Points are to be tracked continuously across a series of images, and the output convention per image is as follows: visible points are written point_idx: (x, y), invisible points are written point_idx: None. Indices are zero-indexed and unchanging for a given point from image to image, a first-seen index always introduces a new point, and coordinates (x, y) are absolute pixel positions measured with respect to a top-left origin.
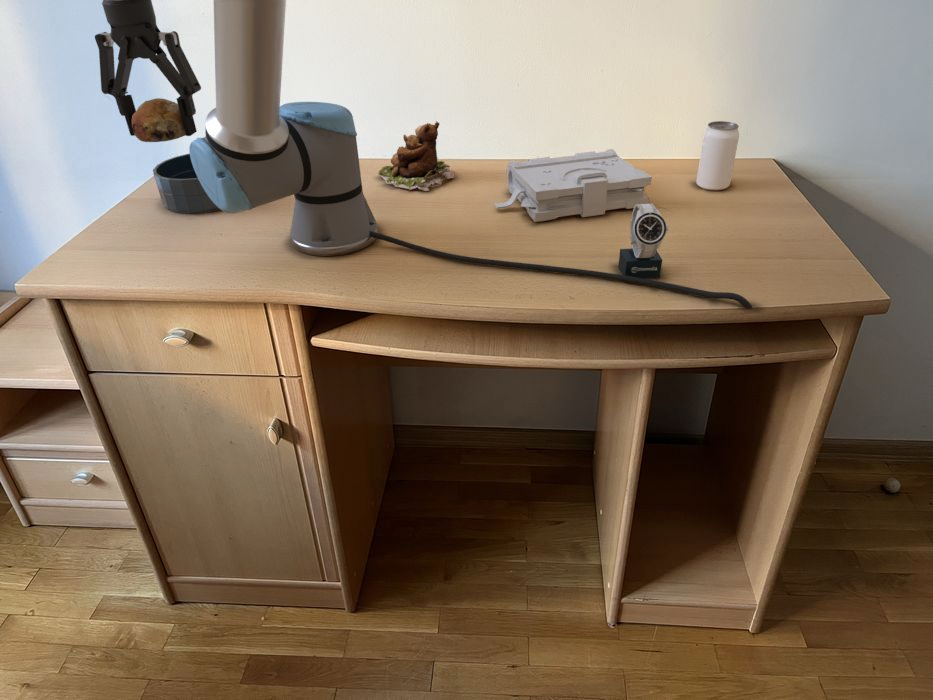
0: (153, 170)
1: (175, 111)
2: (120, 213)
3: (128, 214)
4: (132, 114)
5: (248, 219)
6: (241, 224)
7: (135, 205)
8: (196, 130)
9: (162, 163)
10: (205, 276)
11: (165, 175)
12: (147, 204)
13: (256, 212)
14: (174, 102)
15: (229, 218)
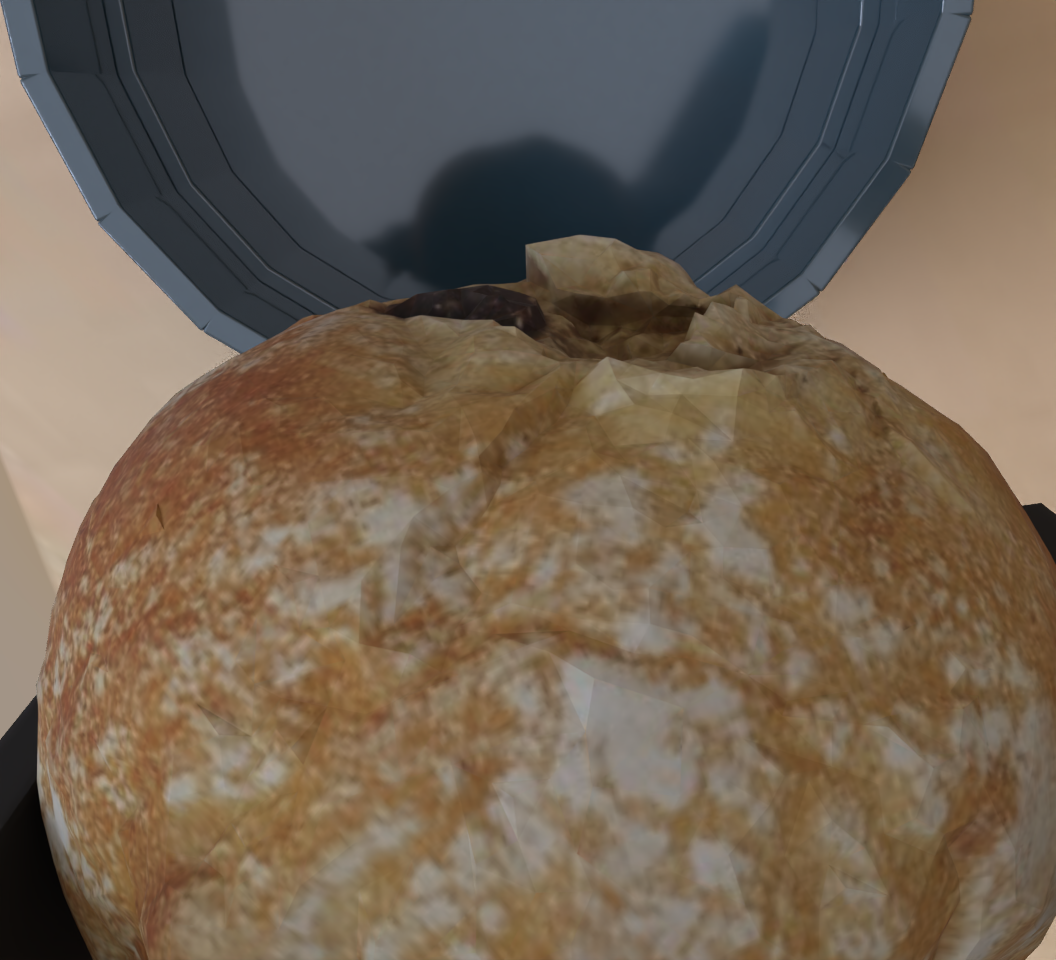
0: (120, 242)
1: (1036, 940)
2: (49, 422)
3: (120, 426)
4: (44, 952)
5: (1023, 333)
6: (1004, 416)
7: (29, 271)
8: (1051, 512)
9: (35, 8)
10: (1051, 944)
11: (93, 25)
12: (103, 234)
13: (1038, 205)
14: (947, 801)
15: (878, 345)
